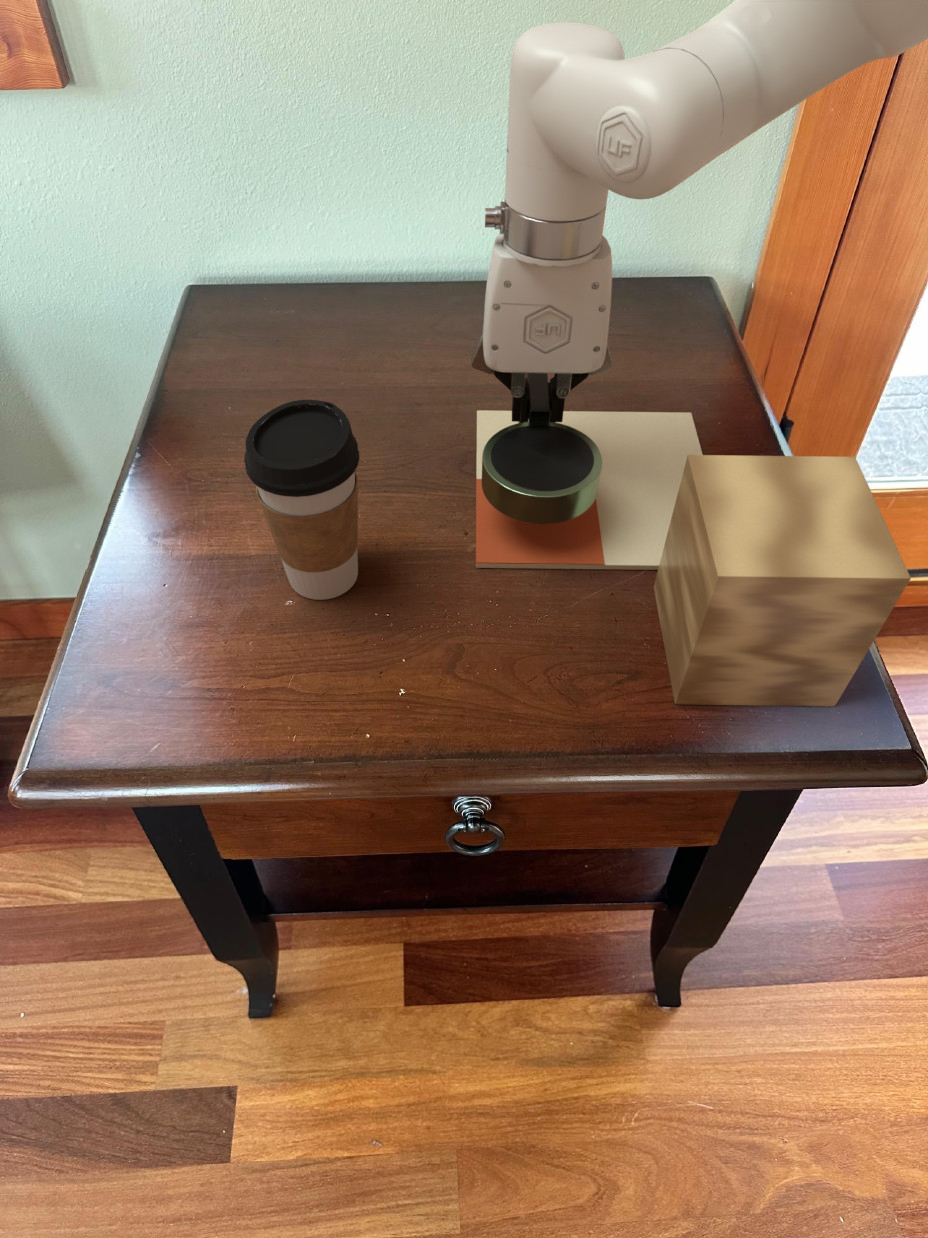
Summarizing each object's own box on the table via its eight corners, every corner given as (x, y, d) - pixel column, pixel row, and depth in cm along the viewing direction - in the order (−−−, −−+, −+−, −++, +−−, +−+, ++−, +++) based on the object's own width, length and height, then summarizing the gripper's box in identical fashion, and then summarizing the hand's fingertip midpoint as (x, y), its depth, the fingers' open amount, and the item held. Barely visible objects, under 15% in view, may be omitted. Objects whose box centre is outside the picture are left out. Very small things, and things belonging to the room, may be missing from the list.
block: (795, 588, 70) (855, 456, 60) (835, 706, 62) (911, 578, 52) (653, 587, 70) (687, 454, 60) (674, 704, 63) (718, 576, 52)
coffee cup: (392, 563, 72) (379, 419, 61) (331, 626, 67) (305, 483, 56) (316, 527, 75) (290, 383, 64) (252, 585, 70) (212, 441, 59)
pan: (481, 395, 80) (482, 358, 77) (585, 396, 80) (590, 359, 77) (481, 523, 69) (482, 486, 66) (603, 525, 69) (609, 487, 66)
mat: (690, 417, 86) (691, 411, 85) (731, 571, 72) (733, 565, 71) (476, 414, 86) (476, 409, 86) (475, 568, 72) (475, 562, 71)
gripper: (447, 247, 60) (449, 450, 75) (665, 249, 60) (626, 453, 74) (449, 201, 65) (451, 401, 79) (651, 204, 65) (617, 403, 79)
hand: (536, 425), depth 77 cm, fingers closed on pan
